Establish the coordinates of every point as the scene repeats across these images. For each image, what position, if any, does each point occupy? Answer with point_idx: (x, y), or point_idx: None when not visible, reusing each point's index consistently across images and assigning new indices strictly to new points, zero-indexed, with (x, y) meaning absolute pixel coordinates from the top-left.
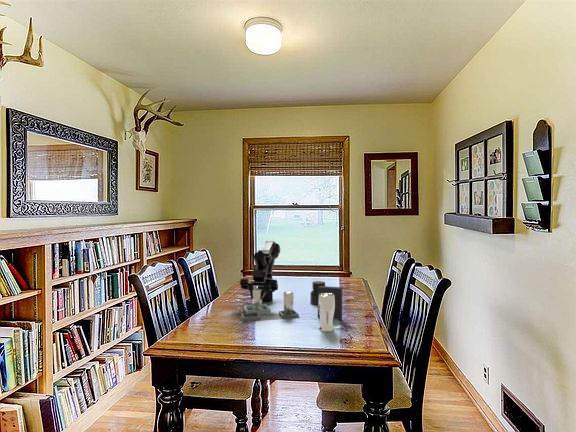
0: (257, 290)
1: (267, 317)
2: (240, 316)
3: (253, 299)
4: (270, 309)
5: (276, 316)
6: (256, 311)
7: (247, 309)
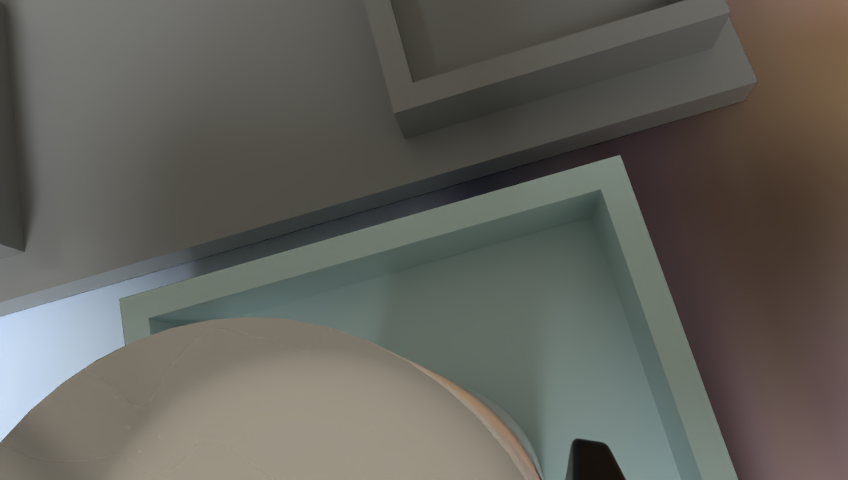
0: (206, 332)
1: (228, 32)
2: (729, 58)
3: (502, 416)
4: (121, 302)
5: (80, 103)
6: (423, 217)
7: (644, 289)
